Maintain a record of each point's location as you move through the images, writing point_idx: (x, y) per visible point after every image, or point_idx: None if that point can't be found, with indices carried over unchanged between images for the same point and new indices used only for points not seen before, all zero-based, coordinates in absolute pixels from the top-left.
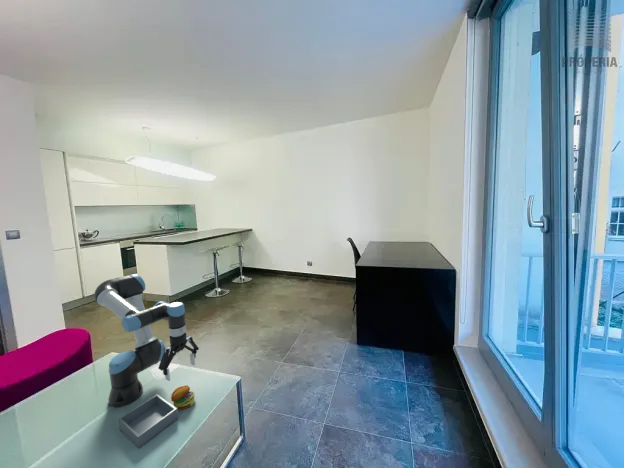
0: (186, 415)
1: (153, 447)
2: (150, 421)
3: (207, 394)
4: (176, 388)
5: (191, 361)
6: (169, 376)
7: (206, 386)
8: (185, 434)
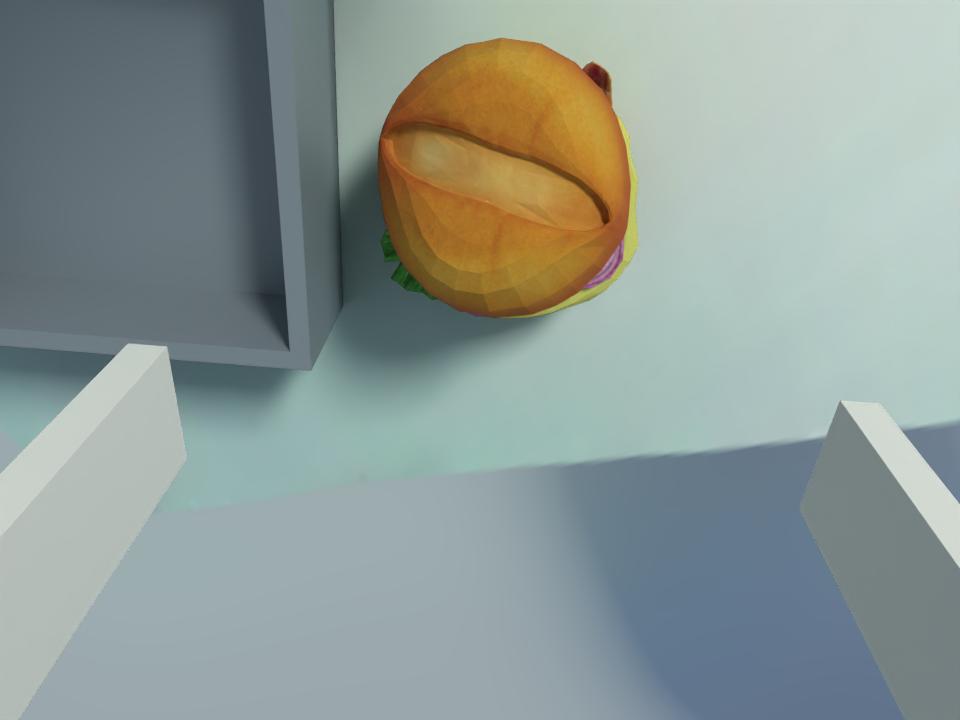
0: (416, 338)
1: (69, 362)
2: (127, 95)
3: (727, 310)
4: (511, 77)
5: (860, 502)
6: (131, 528)
7: (843, 198)
8: (294, 475)
